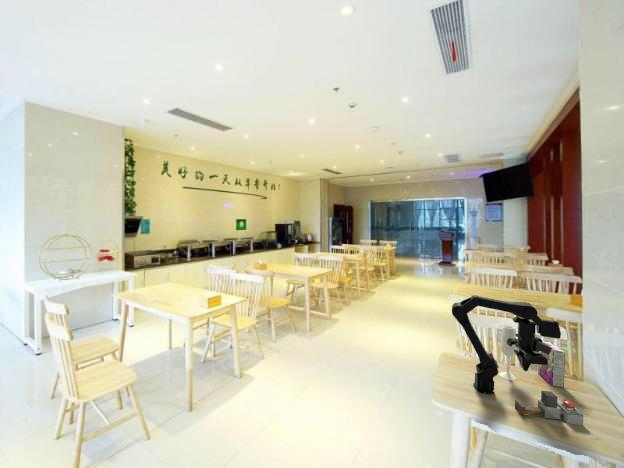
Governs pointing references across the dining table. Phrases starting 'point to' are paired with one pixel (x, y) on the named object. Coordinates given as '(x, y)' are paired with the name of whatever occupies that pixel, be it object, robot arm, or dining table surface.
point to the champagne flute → (507, 349)
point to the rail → (530, 410)
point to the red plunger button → (568, 404)
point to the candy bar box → (553, 366)
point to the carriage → (549, 405)
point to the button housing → (571, 415)
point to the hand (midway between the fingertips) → (525, 370)
